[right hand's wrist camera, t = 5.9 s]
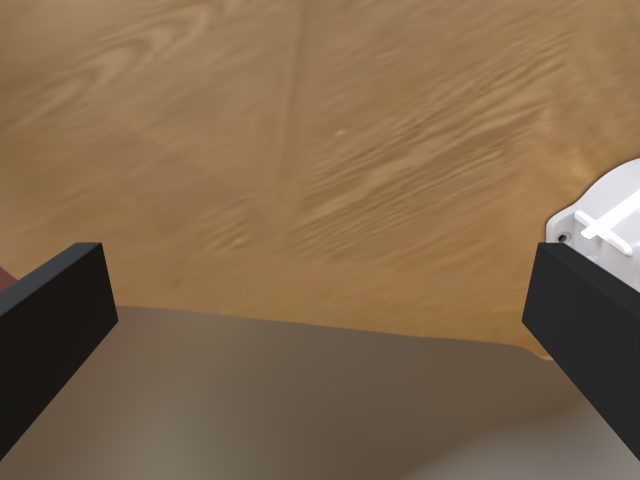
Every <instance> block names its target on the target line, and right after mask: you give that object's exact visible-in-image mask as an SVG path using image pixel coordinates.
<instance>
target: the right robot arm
mask: <svg viewBox="0 0 640 480" xmlns="http://www.w3.org/2000/svg"><path fill="white" fill-rule="evenodd" d="M117 322H118V317H117V312H116V307H115V303H114V298H113V293H112V289H111V284H110V279H109V275H108V270H107V265H106V261H105V256H104V251H103V247H102V243H75V244H73V245H72V246H70V247H69V248H67V249H66V250H64V251H63V252H61V253H60V254H58V255H57V256H55V257H53V258H52V259H50V260H49V261H47V262H46V263H44V264H43V265H41V266H40V267H38V268H37V269H35V270H34V271H32V272H31V273H29V274H28V275H26V276H25V277H23V278H22V279H20V280H18V281H17V282H15V283H14V284H12V285H11V286H9V287H8V288H6V289H5V290H3V291H2V292H0V461H1V460H2V459H3V457H4V456H5V455H6V454H7V453H8V452H9V450H10V449H11V448H12V447H13V446H14V444H15V443H16V442H17V441H18V440H19V439H20V437H21V436H22V435H23V434H24V433H25V431H26V430H27V429H28V428H29V427H30V425H31V424H32V423H33V422H34V421H35V420H36V418H37V417H38V416H39V415H40V414H41V412H42V411H43V410H44V409H45V408H46V407H47V405H48V404H49V403H50V402H51V401H52V399H53V398H54V397H55V396H56V395H57V393H58V392H59V391H60V390H61V389H62V388H63V386H64V385H65V384H66V383H67V382H68V380H69V379H70V378H71V377H72V376H73V375H74V373H75V372H76V371H77V370H78V369H79V367H80V366H81V365H82V364H83V363H84V361H85V360H86V359H87V358H88V357H89V355H90V354H91V353H92V352H93V351H94V350H95V348H96V347H97V346H98V345H99V344H100V342H101V341H102V340H103V339H104V338H105V336H106V335H107V334H108V333H109V332H110V331H111V329H112V328H113V327H114V326H115V325H116V324H117ZM522 322H523V324H524V325H525V326H526V327H527V328H528V329H529V331H530V332H531V333H532V334H533V335H534V337H535V338H536V339H537V340H538V341H539V343H540V344H541V345H542V346H543V347H544V348H545V350H546V351H547V352H548V353H549V354H550V356H551V357H552V358H553V359H554V360H555V361H556V363H557V364H558V365H559V366H560V367H561V369H562V370H563V371H564V372H565V373H566V374H567V376H568V377H569V378H570V379H571V380H572V382H573V383H574V384H575V385H576V386H577V388H578V389H579V390H580V391H581V392H582V393H583V395H584V396H585V397H586V398H587V399H588V401H589V402H590V403H591V404H592V405H593V407H594V408H595V409H596V410H597V411H598V412H599V414H600V415H601V416H602V417H603V418H604V419H605V421H606V422H607V423H608V424H609V425H610V427H611V428H612V429H613V430H614V431H615V433H616V434H617V435H618V436H619V437H620V438H621V440H622V441H623V442H624V443H625V444H626V446H627V447H628V448H629V449H630V450H631V452H632V453H633V454H634V455H635V456H636V457H637V459H638V460H639V461H640V292H638V291H637V290H635V289H634V288H632V287H631V286H629V285H628V284H626V283H625V282H623V281H622V280H620V279H618V278H617V277H615V276H614V275H612V274H611V273H609V272H608V271H606V270H605V269H603V268H602V267H600V266H599V265H597V264H596V263H594V262H593V261H591V260H590V259H588V258H587V257H585V256H583V255H582V254H580V253H579V252H577V251H576V250H574V249H573V248H571V247H570V246H568V245H567V244H565V243H538V247H537V251H536V256H535V261H534V265H533V270H532V275H531V279H530V284H529V289H528V293H527V298H526V303H525V307H524V312H523V317H522Z"/></svg>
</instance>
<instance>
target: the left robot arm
mask: <svg viewBox="0 0 640 480" xmlns="http://www.w3.org/2000/svg"><path fill="white" fill-rule="evenodd" d="M561 235H563V237H562V238H561V239H560V240H558V238H559V236H561ZM546 243H565V244H567V245H568V246H570V247H571V248H573V249H574V250H576V251H577V252H579V253H580V254H582V255H583V256H585V257H587V258H588V259H590V260H591V261H593V262H594V263H596V264H597V265H599V266H600V267H602V268H603V269H605V270H606V271H608V272H609V273H611V274H612V275H614V276H615V277H617V278H618V279H620V280H622V281H623V282H625V283H626V284H628V285H629V286H631V287H632V288H634V289H635V290H637V291H638V292H640V158H639V159H635V160H632V161H630V162H627V163H625V164H623V165H621V166H619V167H617V168H615V169H613V170H612V171H610V172H609V173H607V174H606V175H604V176H603V177H602V178H600V179H599V180H598V181H597V182H596V183H595V184H594V185H593V186H592V187H591V188H590V189H589V190H588V191H587V192H586V193H585V194H584V195H583V196H582V197H581V198H580V199H579V200H578V201H577V202H576V203H575V204H573V205H572V206H570V207H568V208H566V209H564V210H562V211H561V212H559V213H557V214H556V215H555V216H553V217H552V218H551V219H550V220H549V221H548V223H547V226H546Z"/></svg>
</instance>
